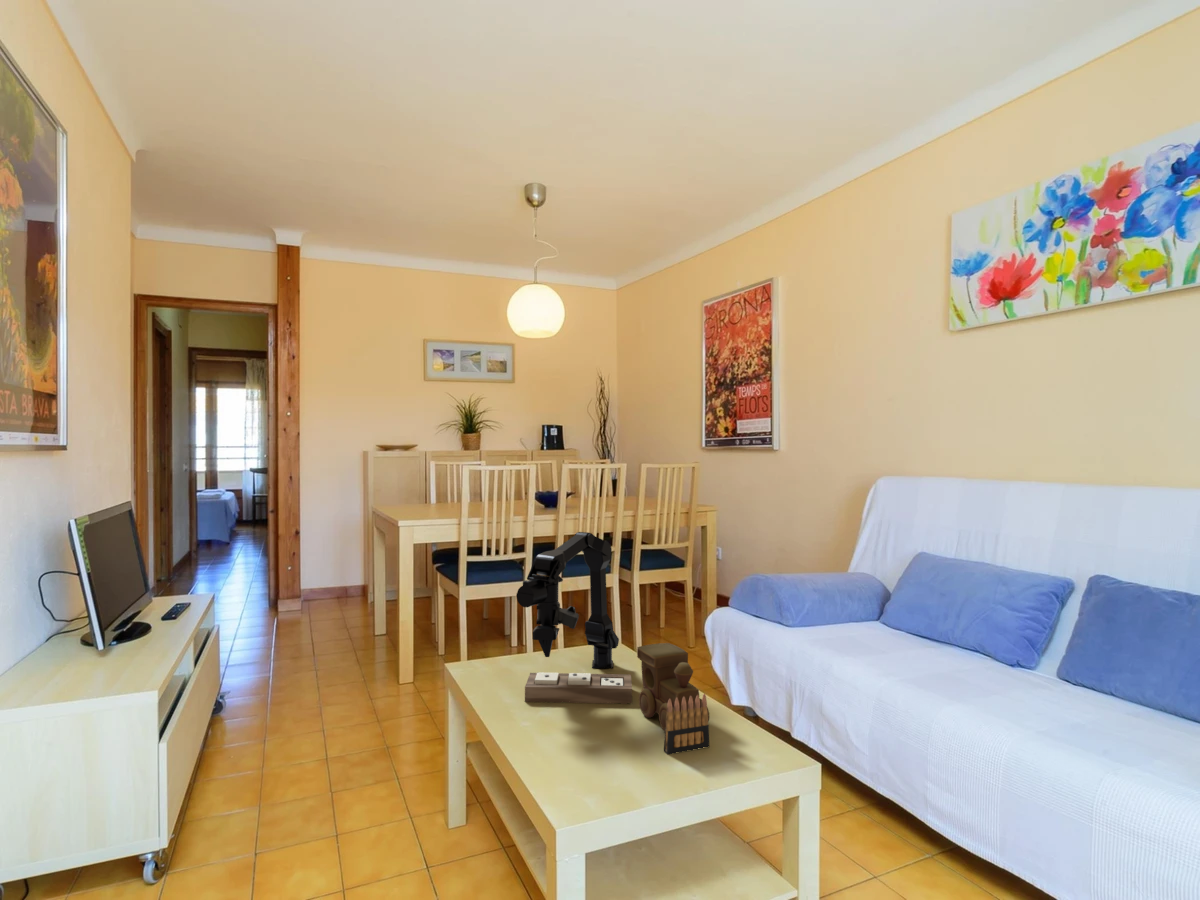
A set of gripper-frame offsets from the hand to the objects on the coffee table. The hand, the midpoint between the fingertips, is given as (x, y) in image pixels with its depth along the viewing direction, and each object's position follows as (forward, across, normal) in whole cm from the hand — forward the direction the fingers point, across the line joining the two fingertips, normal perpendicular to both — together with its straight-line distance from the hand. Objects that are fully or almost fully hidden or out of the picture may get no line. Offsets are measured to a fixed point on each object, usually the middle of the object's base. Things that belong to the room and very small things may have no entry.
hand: (547, 656), depth 178 cm
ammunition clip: (+11, -31, -35) cm, 48 cm away
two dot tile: (+8, 0, -9) cm, 12 cm away
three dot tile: (+9, 0, -18) cm, 20 cm away
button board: (+10, 0, -9) cm, 14 cm away
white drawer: (+8, 0, 0) cm, 8 cm away
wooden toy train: (+11, -16, -33) cm, 38 cm away
